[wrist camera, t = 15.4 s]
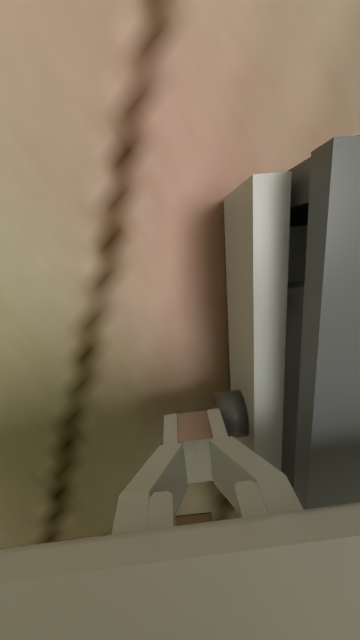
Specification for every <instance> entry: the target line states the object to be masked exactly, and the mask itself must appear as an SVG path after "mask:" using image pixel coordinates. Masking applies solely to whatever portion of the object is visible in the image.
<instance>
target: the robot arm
mask: <svg viewBox="0 0 360 640" xmlns="http://www.w3.org/2000/svg"><path fill="white" fill-rule="evenodd" d="M207 481H213V483H214V484H215V485H216V487H217V488H218V489H219V490H220V491H221V493H222V494H223V495H224V496H225V497H226V499H227V500H228V501H229V502H230V503H231V505H232V506H233V507H234V508H235V509H236V518H234V519H226V520H218V521H211V522H203V523H195V524H188V525H180V526H177V522H176V515H175V513H176V511H177V509H178V507H179V504H180V502H181V500H182V498H183V496H184V494H185V491H186V489H187V487H188V484H191V483H198V482H207ZM0 640H360V502H358V503H351V504H343V505H335V506H328V507H320V508H312V509H303V508H302V506H301V504H300V502H299V500H298V498H297V496H296V494H295V492H294V490H293V488H292V486H291V484H290V482H289V480H288V478H287V476H286V475H285V474H284V473H282V472H281V471H280V470H278V469H277V468H275V467H274V466H273V465H271V464H270V463H268V462H267V461H266V460H264V459H263V458H262V457H260V456H259V455H257V454H256V453H255V452H253V451H252V450H251V449H249V448H248V447H246V446H245V445H244V444H242V443H241V442H239V441H238V440H237V439H235V438H234V437H233V436H231V437H228V433H227V430H226V427H225V424H224V421H223V418H222V415H221V412H220V409H219V408H214V409H207V410H203V411H192V412H182V413H173V414H164V424H163V445H159V446H158V448H157V449H156V450H155V451H154V453H153V454H152V455H151V456H150V458H149V459H148V460H147V461H146V462H145V464H144V465H143V466H142V467H141V469H140V470H139V471H138V472H137V474H136V475H135V476H134V477H133V479H132V480H131V481H130V482H129V484H128V485H127V486H126V487H125V489H124V490H123V491H122V492H121V494H120V495H119V498H118V503H117V508H116V513H115V518H114V523H113V528H112V533H111V534H110V535H103V536H95V537H87V538H80V539H72V540H64V541H56V542H49V543H41V544H33V545H25V546H18V547H10V548H2V549H0Z"/></svg>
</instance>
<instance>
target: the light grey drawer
mask: <svg viewBox="0 0 360 640" xmlns="http://www.w3.org/2000/svg"><path fill="white" fill-rule="evenodd" d="M290 200H291V171H286V172H275V173H264V174H253V175H252V176H250V177H249V178H248V179H247V180H246V181H244V182H243V183H242V184H241V185H240V186H238V187H237V188H236V189H235V190H233V191H232V192H231V193H230V194H229V195H227V196H226V197H225V198H224V224H225V251H226V278H227V305H228V332H229V359H230V386H231V390H230V391H221V392H214V407H215V408H219V409H220V412H221V415H222V418H223V421H224V424H225V427H226V430H227V433H228V437H231V436H233V437H234V438H235V439H237V440H238V441H239V442H241V443H242V444H244V445H245V446H246V447H248V448H249V449H251V450H252V451H253V452H255V453H256V454H257V455H259V456H260V457H262V458H263V459H264V460H266V461H267V462H268V463H270V464H271V465H273V466H274V467H275V468H277V469H278V470H280V471H281V472H282V473H284V474H285V475H286V476H287V478H288V480H289V482H290V484H291V486H292V488H294V469H295V451H296V432H297V413H298V394H299V376H300V357H301V338H302V319H303V301H304V282H305V263H306V245H307V226H308V225H302V226H292V227H290ZM235 512H236V509H235Z"/></svg>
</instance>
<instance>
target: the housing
mask: <svg viewBox="0 0 360 640" xmlns="http://www.w3.org/2000/svg"><path fill="white" fill-rule="evenodd" d="M289 171H291V200H290V227H292V226H302V225H308V226H307V245H306V263H305V282H304V301H303V319H302V338H301V357H300V376H299V394H298V413H297V432H296V451H295V469H294V488H293V490H294V492H295V494H296V496H297V498H298V500H299V502H300V504H301V506H302V508H303V509H312V508H320V507H328V506H335V505H343V504H351V503H358V502H360V135H357V136H346V137H334V138H332V139H331V140H329V141H328V142H326V143H325V144H323V145H321V146H320V147H318V148H317V149H315V150H314V151H312V152H311V157H310V158H308V159H307V160H305V161H303V162H302V163H300V164H298V165H297V166H295V167H294V168H292V169H290V170H289Z"/></svg>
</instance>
